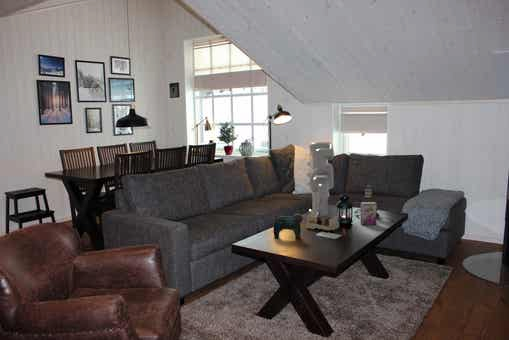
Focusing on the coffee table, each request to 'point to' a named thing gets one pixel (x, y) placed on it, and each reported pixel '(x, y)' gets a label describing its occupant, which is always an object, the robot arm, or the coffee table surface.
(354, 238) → the coffee table surface
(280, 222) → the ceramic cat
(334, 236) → the felt pad
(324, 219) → the block
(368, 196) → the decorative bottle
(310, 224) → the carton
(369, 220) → the candy bar box
